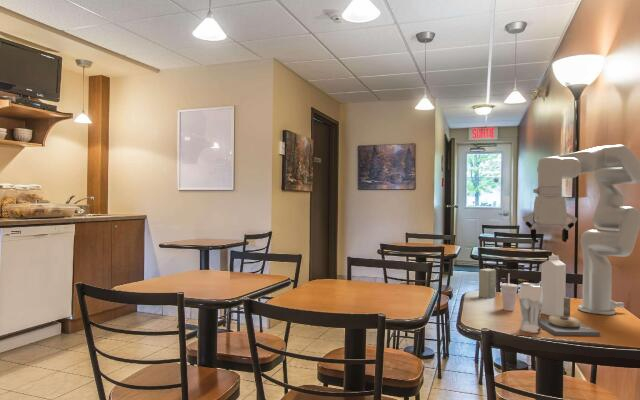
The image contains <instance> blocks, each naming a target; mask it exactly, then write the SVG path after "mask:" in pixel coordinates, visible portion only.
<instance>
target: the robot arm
mask: <svg viewBox="0 0 640 400" xmlns="http://www.w3.org/2000/svg"><path fill="white" fill-rule="evenodd" d="M536 169H537V170H536V171H537V188H534V189H533V191H532V192H533V194H536V196H535V199H534V202H533V203H534V204H533V211H532V212H531V213H528V214H525V215H524V216H522V221H523V222H524V224H525V225H526V226H527V228H529V229H530V239H531V240H532V242H536V241H537V229H536V227H538V225H542V226H543V225H544V226H545V225H546V226H547V225H548V226H549V225H550V226H561V228H562V230H561V241H562V242H564V243H567V241H568V240H569V231H570V230H571V229H572V228H573V227H574V226H575V225H576V222H577V221H578V218H577V217H575V216H574V215H572V214H570V213H568V212H567V202H566V198H565V196H562V195H563V180H569V179H574V178H577V177H578V176H579V175H581V174H582V175H583V174H587V173H589V174H590V173H591V172H594V173H593V174H594V175H593V176H594V180H595V182H596V185H597V189H598V191H599V198H598V201H597V203H596V207H595V209H594V213H593V217H592V225H593V226H594V228H596V229H588V230H585V231H584V232H583V233H582V234H581V236H580V247H581V248H580V249H581V252H582V302H581V304H579V305H577V310H579V311H582V312H584V313H588V314H594V315H604V316H605V315H606V316H609V315H611V316H612V315H615V314H616V313H617V310H616V308H624V307H625V303H624V302H622V301H621V302H620V301H619V302H618V301H617V302H616V301H614V300H613V299H612V283H613V282H612V281H613V280H612V279H613V278H612V273H613V270H612V264H611V262H610V260H609V259H608V258H607V256H611V257H620V258H621V257H623V258H625V257H626V258H627V257H629V256H631V254H632V253H633V251H634V248H635V245H636V242H637V238H638V235H639V232H640V211H639V209H637V208H636V207H634V206H629V205H628V206H624V203H625V199H626V198H625V196H624V193H623V192H622V191H621V190H620V189H619V188H618V186H617V185H628V184H629V185H630V184H634V185H635V184H639V183H640V159H639V158H638V157H637V156H636V154H635V153H634V152H633V151H632V150H631V149H630V148H629V147H627V146H626V145H624V144H615V145H614V144H613V145H602V146H595V147H592V148H588V149H584V150H581V151H575V152H570V153H567V154H566V153H565V154H560V155H555V156H545V157H541V158H540V159H538V161H537V168H536ZM530 218H532V223H530V221H529V219H530ZM568 219H569V220H570V222H569V223H568V224H567V221H568Z"/></svg>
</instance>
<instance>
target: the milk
mask: <svg viewBox="0 0 640 400" xmlns="http://www.w3.org/2000/svg"><path fill="white" fill-rule="evenodd" d="M559 257H560V256H559V255H558V254H557V255H549V256H548V260H546V261H544V262H541V271H540V272H541V275H540V278H541V280H540V281H541V282H540V285H542V290H543V304H542V310H541V314H543V315H545V316H546V315H547V316H553V315H560V316H564V315H563V313H564V298H565V297H566V290H567V289H566V285H567V284H566V279H567V277H566V275H567V265H566V263H564V262H563V261H562V260H560V258H559Z"/></svg>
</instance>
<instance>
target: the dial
mask: <svg viewBox="0 0 640 400" xmlns="http://www.w3.org/2000/svg"><path fill="white" fill-rule="evenodd" d="M548 318H549V323H551V324H553V325H557V326H562V327H579V326H580V323H581V321H580V319H578V318H576V317H573V316H571V298H570V297H567V296H565V298H564V313H563V316H560V315H553V316H550V315H548Z"/></svg>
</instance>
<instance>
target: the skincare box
mask: <svg viewBox="0 0 640 400" xmlns="http://www.w3.org/2000/svg"><path fill="white" fill-rule="evenodd" d="M478 271H479V272H478V297H479V298H484V299H490V298H495V297H496V291H497V290H496V288H497V287H496V283H497V279H496V278H497V277H496V276H497V270H496V269H493V268H489V267H487V268H481V269H479V270H478Z"/></svg>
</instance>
